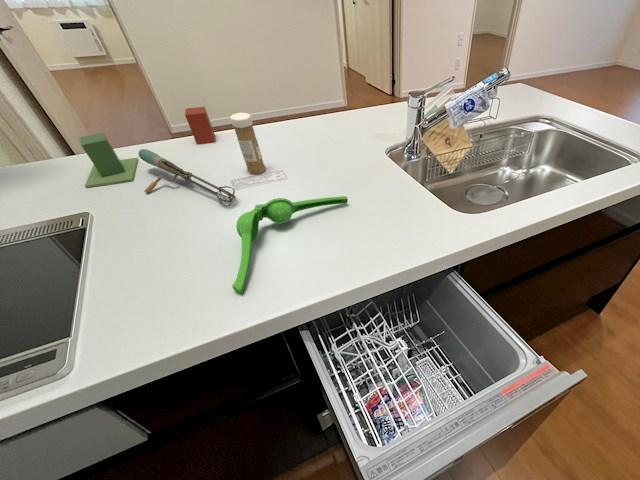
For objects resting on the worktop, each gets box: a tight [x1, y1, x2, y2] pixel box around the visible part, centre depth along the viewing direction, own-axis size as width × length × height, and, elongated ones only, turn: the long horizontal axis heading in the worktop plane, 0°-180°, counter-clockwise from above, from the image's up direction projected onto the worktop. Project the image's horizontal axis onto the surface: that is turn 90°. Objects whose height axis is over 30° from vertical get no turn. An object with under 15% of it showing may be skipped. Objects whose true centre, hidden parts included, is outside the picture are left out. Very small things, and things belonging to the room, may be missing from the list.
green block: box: [78, 132, 125, 177], centre depth 84 cm, size 5×5×8 cm
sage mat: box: [84, 157, 139, 189], centre depth 87 cm, size 12×10×1 cm
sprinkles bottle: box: [230, 112, 266, 175], centre depth 85 cm, size 5×5×13 cm
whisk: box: [138, 148, 237, 208], centre depth 81 cm, size 11×32×7 cm, turn 58°
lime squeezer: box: [232, 195, 349, 295], centre depth 70 cm, size 34×12×6 cm, turn 151°
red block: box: [184, 106, 216, 145], centre depth 99 cm, size 5×5×8 cm
